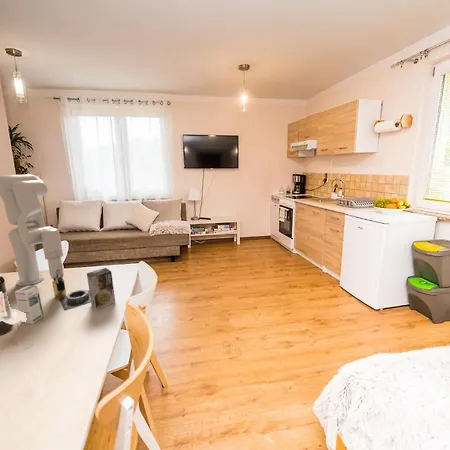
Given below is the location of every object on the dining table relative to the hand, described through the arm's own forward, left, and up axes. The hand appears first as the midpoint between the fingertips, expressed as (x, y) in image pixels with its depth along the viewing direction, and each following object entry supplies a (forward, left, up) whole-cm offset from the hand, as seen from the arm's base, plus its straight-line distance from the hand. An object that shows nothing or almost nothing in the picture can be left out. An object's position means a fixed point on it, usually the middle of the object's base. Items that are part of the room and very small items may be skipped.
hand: (59, 286), depth 134 cm
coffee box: (+22, +14, -5) cm, 27 cm away
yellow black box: (-1, 0, -5) cm, 5 cm away
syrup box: (+16, -13, -5) cm, 22 cm away
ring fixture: (+9, +6, -5) cm, 12 cm away
